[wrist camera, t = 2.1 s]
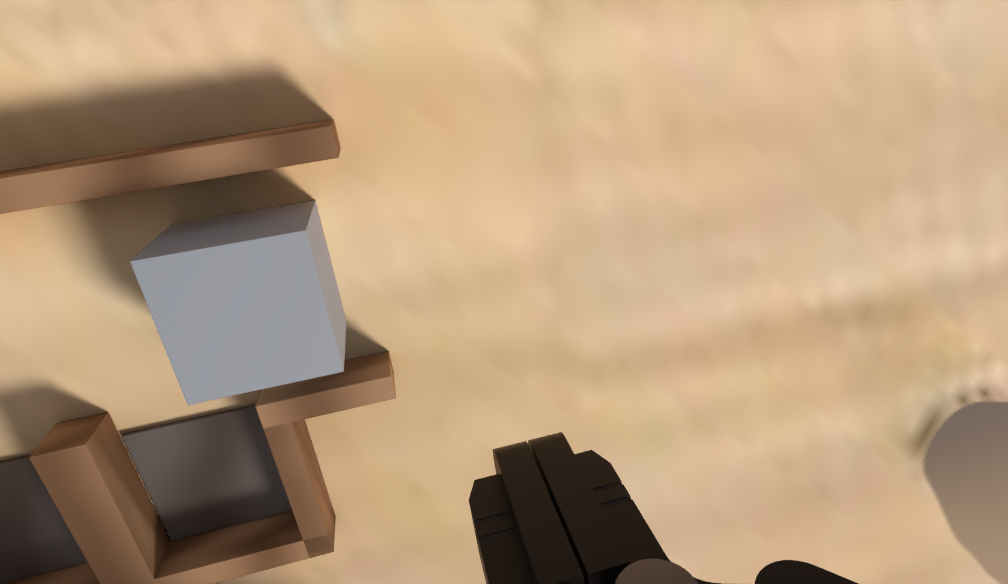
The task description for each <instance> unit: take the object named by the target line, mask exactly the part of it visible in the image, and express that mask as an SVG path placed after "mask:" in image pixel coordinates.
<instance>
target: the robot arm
mask: <svg viewBox="0 0 1008 584" xmlns="http://www.w3.org/2000/svg"><path fill="white" fill-rule="evenodd" d="M493 457H494V463H495V469H496V474H497V475H493V476H489V477H485V478H481V479H477V480H475V481H474V484H473V488H472V491H471V494H470V498H469V504H470V509H471V514H472V519H473V524H474V529H475V534H476V539H477V544H478V549H479V554H480V559H481V563H482V567H483V571H484V576H485V580H486V584H720V583H711V582H706V581H702V580H699V579H696V578H694V577H693V576H692V575H691V574H690V573H689V572H688V571H686V570H685V569H684V568H682V567H681V566H679V565H677V564H675V563H673V562H671V561H670V560H669V559H668V557H667V556H666V554H665V553H664V551H663V550H662V548H661V546H660V545H659V543H658V541H657V540H656V538H655V536H654V535H653V533H652V531H651V530H650V528H649V526H648V525H647V523H646V521H645V520H644V518H643V516H642V515H641V513H640V511H639V510H638V508H637V506H636V505H635V503H634V501H633V500H631V498H630V495H629V493H628V491H627V490H626V488H625V487H624V485H622V483H621V480H620V478H619V477H618V475H617V473H616V472H615V470H614V468H613V467H612V465H611V463H610V462H608V461H607V460H605V459H604V458H602V457H601V456H600V455H598V454H597V453H595V452H594V451H592V450H590V451H586V452H582V453H578V454H574V453H573V451H572V449H571V447H570V446H569V444H568V442H567V440H566V438H565V436H564V435H563V433H562V432H560V433H556V434H552V435H548V436H544V437H540V438H536V439H532V440H529V441H528V443H527V442H526V441H525V442H521V443H517V444H513V445H509V446H505V447H501V448H497V449H493ZM755 584H858V583H856V582H853V581H851V580H848V579H846V578H844V577H841V576H839V575H836V574H834V573H832V572H829V571H827V570H824V569H822V568H819V567H817V566H815V565H812V564H809V563H806V562H801V561H794V560H782V561H777V562H774V563H771V564H769V565H767V566H765V567H764V568H763V569H762V570H761V571H760V572H759V574H758V575H757V577H756V580H755Z"/></svg>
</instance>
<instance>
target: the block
mask: <svg viewBox="0 0 1008 584" xmlns="http://www.w3.org/2000/svg"><path fill="white" fill-rule="evenodd" d="M130 263H131V265H132V268H133V270H134V273H135V275H136V278H137V280H138V283H139V285H140V288H141V290H142V293H143V295H144V298H145V300H146V303H147V305H148V308H149V310H150V313H151V315H152V318H153V320H154V323H155V325H156V328H157V330H158V333H159V335H160V338H161V340H162V342H163V345H164V347H165V350H166V352H167V355H168V357H169V360H170V362H171V365H172V367H173V370H174V372H175V375H176V377H177V380H178V382H179V385H180V387H181V390H182V392H183V395H184V397H185V400H186V402H187V405H191V404H196V403H201V402H205V401H210V400H214V399H219V398H224V397H228V396H233V395H238V394H242V393H247V392H252V391H256V390H261V389H265V388H270V387H275V386H279V385H284V384H289V383H293V382H298V381H303V380H307V379H312V378H317V377H321V376H326V375H330V374H335V373H340V372H344V359H345V342H346V324H347V321H346V317H345V313H344V310H343V306H342V302H341V298H340V294H339V290H338V286H337V282H336V278H335V275H334V271H333V267H332V263H331V259H330V255H329V251H328V247H327V243H326V239H325V236H324V232H323V228H322V224H321V220H320V216H319V212H318V208H317V204H316V201H315V200H313V201H307V202H301V203H296V204H290V205H284V206H278V207H272V208H266V209H260V210H254V211H249V212H243V213H237V214H231V215H225V216H219V217H213V218H207V219H202V220H196V221H190V222H184V223H178V224H172V225H170V226H169V227H168V228H167V229H166V230H165V231H163V232H162V233H161V234H160V235H159V236H158V237H157V238H156V239H155V240H153V241H152V242H151V243H150V244H149V245H148V246H147V247H146V248H145V249H143V250H142V251H141V252H140V253H139V254H138V255H137V256H136V257H135V258H133V259H132V260H131V261H130Z"/></svg>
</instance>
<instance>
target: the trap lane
mask: <svg viewBox="0 0 1008 584" xmlns="http://www.w3.org/2000/svg"><path fill="white" fill-rule="evenodd" d="M340 149H341V148H340V144H339V140H338V135H337V131H336V127H335V123H334V120H328V121H321V122H315V123H309V124H302V125H296V126H289V127H283V128H277V129H270V130H264V131H257V132H251V133H245V134H238V135H232V136H225V137H219V138H213V139H206V140H200V141H194V142H187V143H181V144H174V145H168V146H162V147H155V148H149V149H142V150H136V151H130V152H123V153H117V154H110V155H104V156H98V157H91V158H85V159H79V160H72V161H66V162H59V163H53V164H47V165H40V166H34V167H27V168H21V169H15V170H8V171H2V172H0V214H3V213H9V212H15V211H21V210H27V209H33V208H39V207H45V206H51V205H57V204H63V203H69V202H75V201H81V200H87V199H93V198H99V197H105V196H111V195H117V194H123V193H129V192H135V191H141V190H147V189H153V188H159V187H165V186H171V185H177V184H183V183H189V182H195V181H201V180H207V179H213V178H219V177H225V176H231V175H237V174H243V173H249V172H255V171H261V170H267V169H273V168H279V167H286V166H292V165H298V164H304V163H310V162H316V161H322V160H328V159H334V158H338V157H339V153H340ZM395 398H396V392H395V382H394V372H393V367H392V363H391V359H390V355H389V351H387V352H383V353H378V354H373V355H369V356H364V357H360V358H355V359H350V360H346V361H344V372H340V373H335V374H330V375H326V376H321V377H317V378H312V379H307V380H303V381H298V382H293V383H289V384H284V385H279V386H275V387H270V388H265V389H261V390H260V393H259V397H258V400H257V403H256V405H251V406H247V407H242V408H238V409H233V410H229V411H224V412H220V413H215V414H211V415H206V416H202V417H198V418H193V419H189V420H184V421H180V422H175V423H171V424H166V425H162V426H157V427H153V428H148V429H144V430H139V431H135V432H130V433H126V434H123V436H122V437H123V439H124V441H125V444H126V446H127V448H128V450H129V452H130V454H131V456H132V458H133V460H134V462H135V465H136V467H137V469H138V471H139V473H140V475H141V477H142V479H143V481H144V483H145V486H146V488H147V490H148V492H149V494H150V496H151V498H152V500H153V502H154V504H155V507H156V509H157V511H158V513H159V515H160V517H161V519H162V521H163V523H164V525H165V528H166V530H167V532H168V534H169V536H170V538H171V540H169V538H168V536H167V534H166V532H165V530H164V528H163V526H162V524H161V521H160V519H159V517H158V515H157V513H156V511H155V509H154V507H153V505H152V503H151V501H150V498H149V496H148V494H147V492H146V490H145V488H144V486H143V484H142V482H141V480H140V478H139V475H138V473H137V471H136V469H135V467H134V465H133V463H132V461H131V459H130V457H129V454H128V452H127V450H126V448H125V446H124V444H123V442H122V440H121V438H120V436H119V434H118V431H117V429H116V427H115V425H114V423H113V421H112V419H111V417H110V415H109V413H108V412H107V413H102V414H98V415H93V416H89V417H84V418H79V419H75V420H70V421H66V422H61V423H57V424H56V425H55V426H54V427H53V429H52V430H51V431H50V432H49V434H48V435H47V436H46V437H45V438H44V440H43V441H42V442H41V443H40V444H39V446H38V447H37V448H36V449H35V451H34V452H33V453H32V454H31V455H28V456H23V457H19V458H14V459H10V460H5V461H1V462H0V584H214V583H218V582H221V581H225V580H229V579H233V578H237V577H240V576H244V575H248V574H252V573H255V572H259V571H263V570H267V569H271V568H274V567H278V566H282V565H286V564H289V563H293V562H297V561H301V560H304V559H308V558H312V557H316V556H320V555H323V554H327V553H331V552H334V535H335V518H336V516H335V513H334V510H333V507H332V504H331V501H330V498H329V495H328V491H327V488H326V485H325V482H324V479H323V476H322V473H321V470H320V466H319V463H318V460H317V457H316V454H315V451H314V448H313V444H312V441H311V438H310V435H309V432H308V429H307V426H306V423H305V419H308V418H312V417H316V416H321V415H325V414H329V413H334V412H338V411H342V410H347V409H351V408H356V407H360V406H364V405H369V404H373V403H377V402H382V401H386V400H390V399H395Z"/></svg>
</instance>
